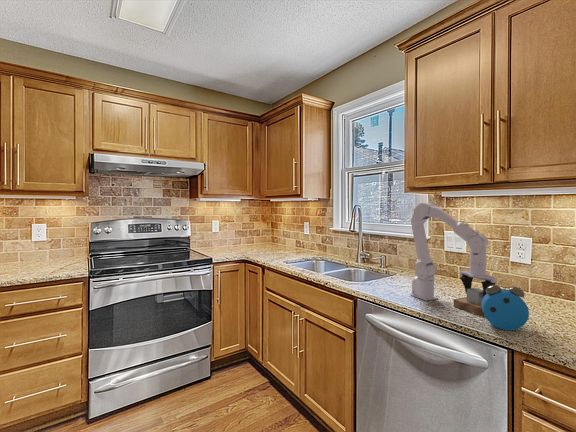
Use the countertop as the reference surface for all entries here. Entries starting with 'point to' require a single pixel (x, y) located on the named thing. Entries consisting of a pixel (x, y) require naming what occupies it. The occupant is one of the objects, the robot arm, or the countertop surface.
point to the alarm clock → (505, 307)
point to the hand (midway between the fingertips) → (476, 295)
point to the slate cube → (475, 295)
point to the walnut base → (468, 306)
